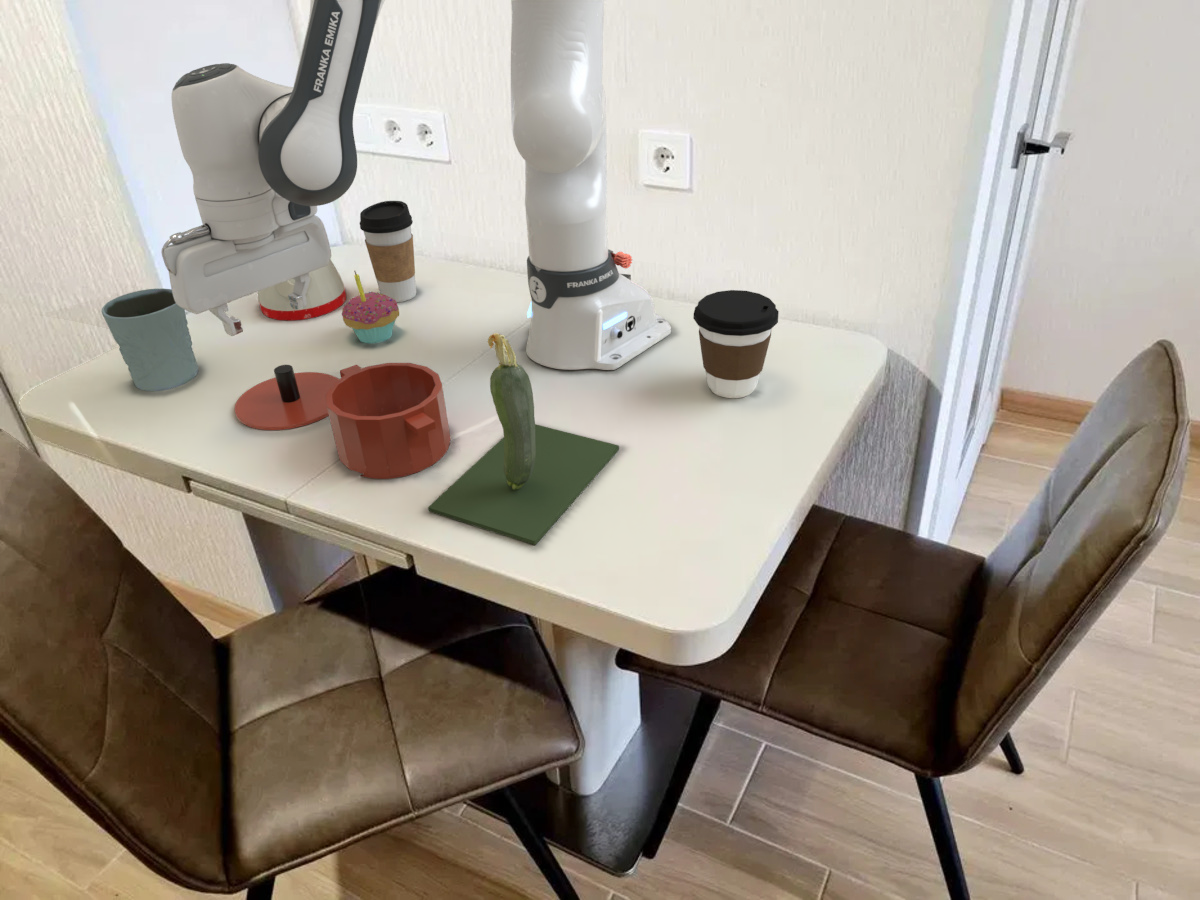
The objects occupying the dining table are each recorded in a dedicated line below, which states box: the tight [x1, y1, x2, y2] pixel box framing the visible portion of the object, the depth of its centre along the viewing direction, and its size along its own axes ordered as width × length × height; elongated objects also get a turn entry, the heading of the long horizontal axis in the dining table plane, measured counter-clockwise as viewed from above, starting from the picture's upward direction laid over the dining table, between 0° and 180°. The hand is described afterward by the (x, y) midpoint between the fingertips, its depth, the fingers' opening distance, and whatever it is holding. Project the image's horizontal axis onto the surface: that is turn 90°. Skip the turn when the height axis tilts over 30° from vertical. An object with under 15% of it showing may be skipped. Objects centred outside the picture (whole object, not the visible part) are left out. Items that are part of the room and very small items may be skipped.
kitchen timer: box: [257, 258, 347, 322], centre depth 143 cm, size 14×14×15 cm
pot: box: [325, 362, 452, 480], centre depth 107 cm, size 14×19×8 cm
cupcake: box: [341, 270, 400, 345], centre depth 132 cm, size 9×8×12 cm
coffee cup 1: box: [359, 200, 417, 303], centre depth 144 cm, size 8×8×15 cm
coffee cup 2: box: [692, 289, 780, 399], centre depth 115 cm, size 11×11×12 cm
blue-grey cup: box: [100, 288, 199, 392], centre depth 123 cm, size 10×10×12 cm
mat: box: [427, 423, 620, 546], centre depth 103 cm, size 20×14×1 cm
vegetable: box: [487, 332, 536, 490], centre depth 94 cm, size 4×4×20 cm
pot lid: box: [234, 364, 340, 431], centre depth 118 cm, size 15×15×6 cm
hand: (267, 319), depth 112 cm, fingers open, 8 cm apart
